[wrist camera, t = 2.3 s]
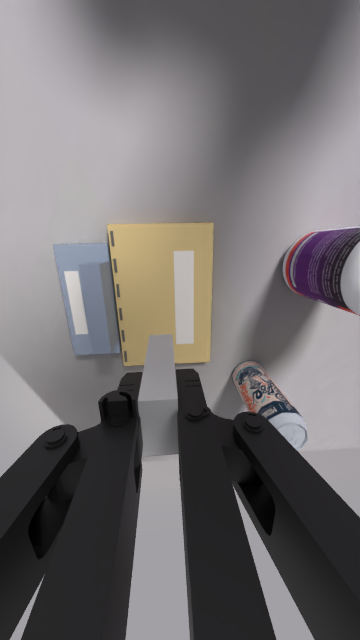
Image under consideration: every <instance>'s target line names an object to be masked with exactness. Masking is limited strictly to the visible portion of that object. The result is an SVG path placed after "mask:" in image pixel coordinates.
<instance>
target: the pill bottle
mask: <svg viewBox="0 0 360 640" xmlns="http://www.w3.org/2000/svg"><path fill="white" fill-rule="evenodd" d="M283 276H284V280H285V282H286V284H287V285H288V287H289V288H290V289H291V290H292V291H294V292H295V293H297V294H299V295H302V296H305V297H308V298H311V299H314V300H317V301H319V302H322V303H325V304H328V305H331V306H334V307H337V308H340V309H343V310H345V311H348V312H351V313H354V314H357V315H359V316H360V226H355V227H345V228H336V229H326V230H318V231H313V232H309V233H307V234H305V235H303V236H301V237H300V238H299V239H297V240H296V241H295V242H294V243H293V244H292V245H291V247H290V248H289V250H288V251H287V253H286V255H285V258H284V261H283Z"/></svg>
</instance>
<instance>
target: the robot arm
mask: <svg viewBox="0 0 360 640" xmlns="http://www.w3.org/2000/svg"><path fill="white" fill-rule="evenodd" d="M98 404H99V410H100V416H101V423H100V424H98V425H97V426H95V427H92V428H89V429H86V430H83V431H80V432H77V429H76V428H75V427H74V426H72V425H69V424H67V425H59V426H56V427H53V428H51V429H49V430H47V431H46V432H44V433H43V434H42V435H41V436H39V438H37V440H36V441H35V442H34V443H33V444H32V445H31V446H30V447H29V448H28V449H27V450H26V451H25V452H24V453H23V454H22V455H21V457H19V458H18V459H17V461H16V462H15V463H14V464H13V465H12V466H11V467H10V468H9V469H8V470H7V471H6V472H5V473H4V474H3V475H2V476H1V477H0V640H9V639H10V638H11V636H12V634H13V632H14V630H15V628H16V626H17V625H18V623H19V621H20V619H21V617H22V615H23V613H24V612H25V610H26V608H27V606H28V604H29V602H30V600H31V599H32V597H33V595H34V593H35V591H36V589H37V587H38V585H39V584H40V582H41V580H42V578H43V576H44V578H43V581H42V584H41V586H40V589H39V592H38V594H37V597H36V600H35V603H34V605H33V608H32V611H31V613H30V616H29V619H28V622H27V625H26V627H25V630H24V633H23V635H22V638H21V640H125V638H126V637H125V636H126V626H127V618H128V608H129V597H130V587H131V578H132V568H133V557H134V547H135V538H136V528H137V518H138V508H139V507H138V506H139V497H140V488H141V477H142V462H141V458H142V450H143V457H145V456H158V455H171V454H179V474H180V486H181V501H182V516H183V517H182V518H183V534H184V550H185V566H186V581H187V597H188V614H189V630H190V640H276V637H275V634H274V630H273V626H272V623H271V619H270V616H269V612H268V609H267V605H266V602H265V598H264V595H263V591H262V588H261V584H260V581H259V577H258V574H257V570H256V567H255V563H254V559H253V556H252V552H251V549H250V545H249V542H248V538H247V535H246V532H245V528H244V524H243V520H242V517H241V513H240V510H239V506H238V503H237V499H236V496H235V492H234V489H233V486H234V488H235V490H236V492H237V494H238V496H239V498H240V499H241V501H242V503H243V505H244V507H245V509H246V511H247V513H248V514H249V516H250V518H251V520H252V522H253V524H254V526H255V528H256V530H257V531H258V534H259V535H260V537H261V539H262V541H263V543H264V545H265V547H266V549H267V550H268V552H269V554H270V556H271V558H272V560H273V562H274V564H275V566H276V567H277V569H278V571H279V573H280V575H281V577H282V579H283V581H284V583H285V585H286V586H287V588H288V590H289V592H290V594H291V596H292V598H293V600H294V602H295V603H296V605H297V607H298V609H299V611H300V613H301V615H302V617H303V618H304V620H305V622H306V624H307V626H308V628H309V630H310V632H311V633H312V635H313V637H314V639H315V640H360V518H359V516H357V514H356V513H355V512H354V511H353V510H352V509H351V508H350V507H349V506H348V505H347V504H346V502H345V501H344V500H343V499H342V498H341V497H340V496H339V495H338V494H337V493H336V492H335V491H334V490H333V489H332V488H331V486H330V485H329V484H328V483H327V482H326V481H325V480H324V479H323V478H322V477H321V476H320V475H319V474H318V473H317V472H316V471H315V469H313V467H312V466H311V465H310V464H309V463H308V462H307V461H306V460H305V459H304V458H303V457H302V456H301V455H300V453H299V452H298V451H297V450H296V449H295V448H294V447H293V446H292V445H291V444H290V443H289V442H288V441H287V440H286V439H285V437H284V436H283V435H282V434H281V433H280V432H279V431H278V430H277V429H276V428H275V427H274V426H273V425H272V424H271V423H270V422H269V420H267V419H266V418H265V417H264V416H262V415H260V414H257V413H254V412H242V413H240V414H238V415H237V416H236V417H235V418H234V420H230V419H225V418H221V417H218V416H216V415H214V414H213V413H212V412H211V410H210V409H209V408H208V407H207V404H206V401H205V397H204V393H203V389H202V386H201V382H200V378H199V374H198V373H197V372H196V371H195V370H194V369H179V370H175V360H174V349H173V337H172V334H165V335H149V341H148V347H147V352H146V358H145V363H144V369H143V372H135V373H127V374H126V375H125V376H124V377H123V378H122V379H121V381H120V384H119V387H118V390H116V391H112V392H110V393H107V394H106V395H104V396H103V397H102V398H101V399H100V400H99V402H98ZM232 484H233V485H232ZM45 572H46V573H45ZM44 574H45V575H44Z"/></svg>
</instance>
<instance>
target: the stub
mask: <svg viewBox="0 0 360 640" xmlns="http://www.w3.org/2000/svg"><path fill="white" fill-rule="evenodd" d="M53 247H54V252H55V258H56V263H57V268H58V273H59V278H60V283H61V288H62V293H63V298H64V303H65V309H66V314H67V319H68V324H69V329H70V334H71V339H72V344H73V349H74V354H75V355H91V354H113V353H120V352H121V341H120V333H119V324H118V316H117V307H116V299H115V290H114V282H113V274H112V265H111V257H110V248H109V243H101V244H53Z"/></svg>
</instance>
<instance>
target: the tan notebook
mask: <svg viewBox="0 0 360 640" xmlns="http://www.w3.org/2000/svg"><path fill="white" fill-rule="evenodd" d="M107 227H108V235H109V244H110V252H111V261H112V269H113V278H114V286H115V295H116V303H117V312H118V320H119V329H120V337H121V346H122V354H123V363H124V366H135V365H144V363H145V358H146V352H147V347H148V341H149V335H165V334H172V337H173V349H174V360H175V364H176V363H196V362H210V341H211V303H212V266H213V229H214V223H159V224H107Z"/></svg>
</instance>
